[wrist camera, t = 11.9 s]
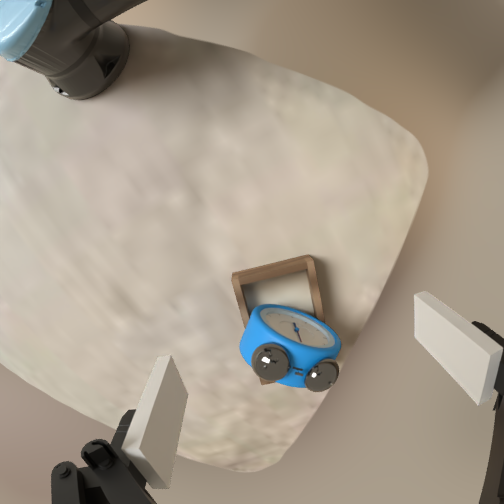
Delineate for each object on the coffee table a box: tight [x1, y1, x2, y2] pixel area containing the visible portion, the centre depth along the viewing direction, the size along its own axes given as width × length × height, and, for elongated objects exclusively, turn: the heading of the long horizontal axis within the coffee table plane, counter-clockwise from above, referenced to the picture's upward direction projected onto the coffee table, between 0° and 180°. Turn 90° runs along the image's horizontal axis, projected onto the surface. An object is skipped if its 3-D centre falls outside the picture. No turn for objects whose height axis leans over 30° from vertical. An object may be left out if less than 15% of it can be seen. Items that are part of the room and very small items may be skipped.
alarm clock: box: [240, 304, 341, 392], centre depth 41 cm, size 13×6×15 cm, turn 70°
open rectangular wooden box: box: [231, 255, 325, 385], centre depth 48 cm, size 19×12×4 cm, turn 14°
